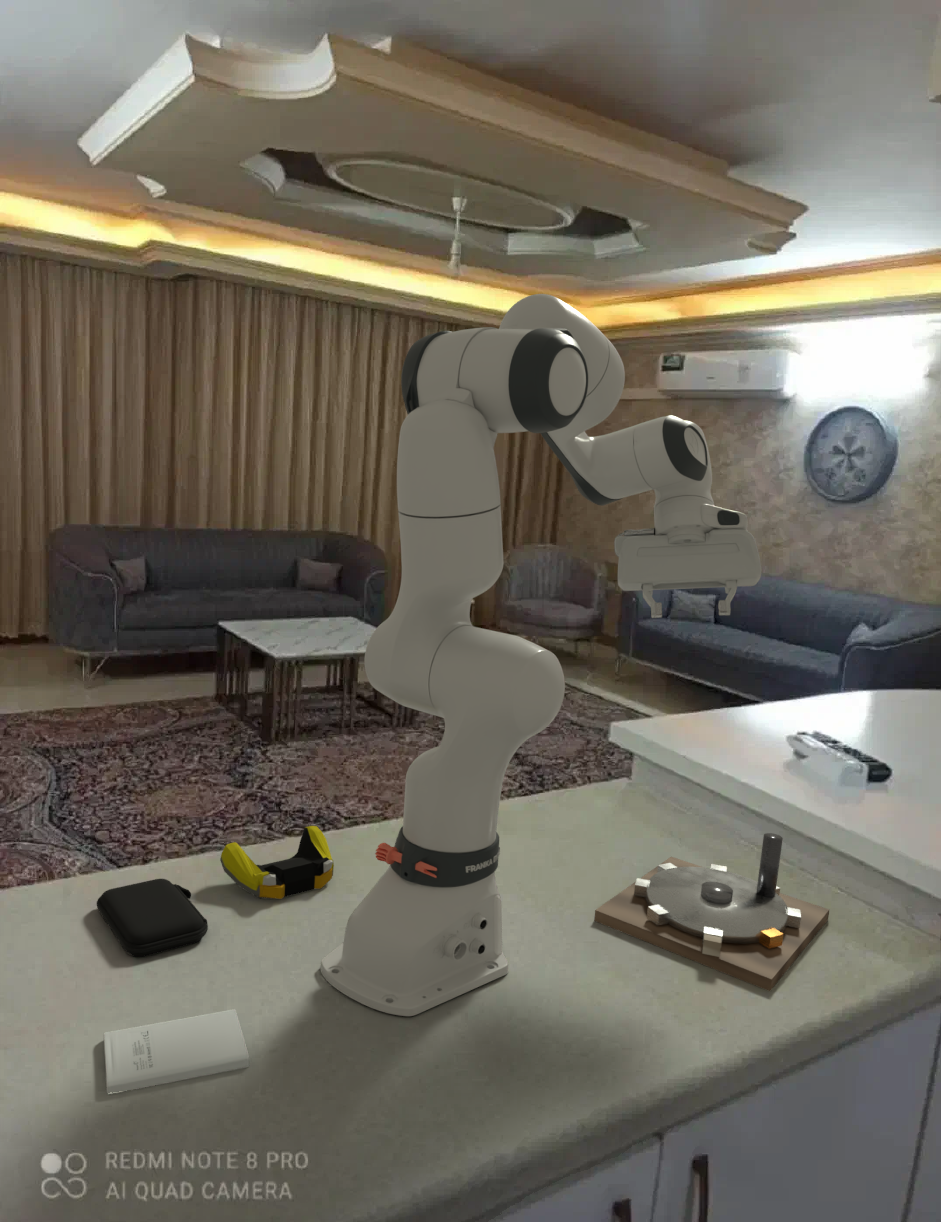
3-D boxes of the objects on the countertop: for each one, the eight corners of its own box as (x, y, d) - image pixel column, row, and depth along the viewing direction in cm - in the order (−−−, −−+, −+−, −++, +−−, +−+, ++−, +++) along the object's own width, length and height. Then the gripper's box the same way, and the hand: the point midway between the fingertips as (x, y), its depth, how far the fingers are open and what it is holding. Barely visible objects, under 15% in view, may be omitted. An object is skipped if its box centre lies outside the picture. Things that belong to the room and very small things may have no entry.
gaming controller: (215, 880, 122) (247, 912, 114) (216, 841, 121) (248, 870, 113) (315, 856, 131) (350, 884, 123) (316, 820, 130) (352, 846, 122)
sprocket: (764, 968, 106) (775, 891, 104) (608, 907, 118) (615, 838, 116) (817, 907, 122) (826, 840, 121) (675, 859, 134) (682, 798, 133)
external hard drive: (249, 1072, 85) (106, 1100, 80) (234, 1021, 93) (103, 1044, 88) (249, 1056, 85) (106, 1083, 80) (235, 1006, 93) (103, 1029, 88)
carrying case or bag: (221, 942, 107) (178, 891, 119) (222, 918, 107) (178, 869, 118) (129, 967, 101) (92, 910, 112) (129, 942, 100) (92, 887, 112)
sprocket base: (769, 992, 104) (772, 965, 104) (593, 921, 118) (595, 897, 117) (828, 919, 123) (831, 897, 122) (670, 865, 136) (672, 845, 136)
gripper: (613, 521, 133) (616, 610, 128) (758, 513, 130) (767, 605, 125) (614, 539, 139) (617, 625, 134) (753, 532, 136) (761, 620, 131)
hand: (690, 615), depth 130 cm, fingers open, 8 cm apart
